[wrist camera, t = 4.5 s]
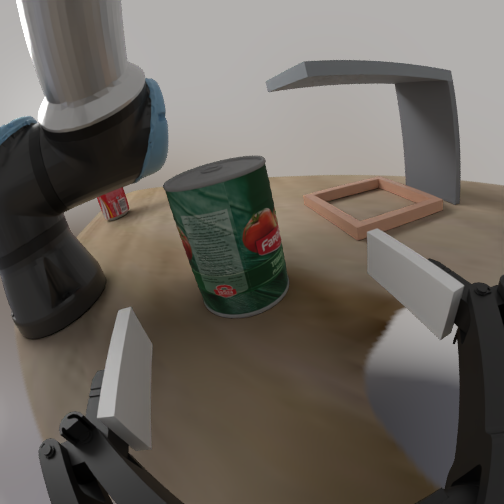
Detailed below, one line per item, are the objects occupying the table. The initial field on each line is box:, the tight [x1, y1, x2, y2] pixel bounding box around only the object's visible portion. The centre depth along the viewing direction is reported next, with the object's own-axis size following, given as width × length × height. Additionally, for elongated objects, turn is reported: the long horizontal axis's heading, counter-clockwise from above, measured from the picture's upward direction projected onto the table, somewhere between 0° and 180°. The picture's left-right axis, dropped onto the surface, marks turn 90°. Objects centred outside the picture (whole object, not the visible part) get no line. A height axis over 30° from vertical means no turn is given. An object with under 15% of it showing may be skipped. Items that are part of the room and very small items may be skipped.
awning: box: [266, 60, 460, 205], centre depth 31 cm, size 22×12×18 cm, turn 104°
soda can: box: [97, 187, 129, 220], centre depth 61 cm, size 7×7×12 cm
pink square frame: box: [303, 176, 443, 240], centre depth 35 cm, size 14×14×2 cm
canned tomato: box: [163, 156, 289, 318], centre depth 23 cm, size 8×8×11 cm
